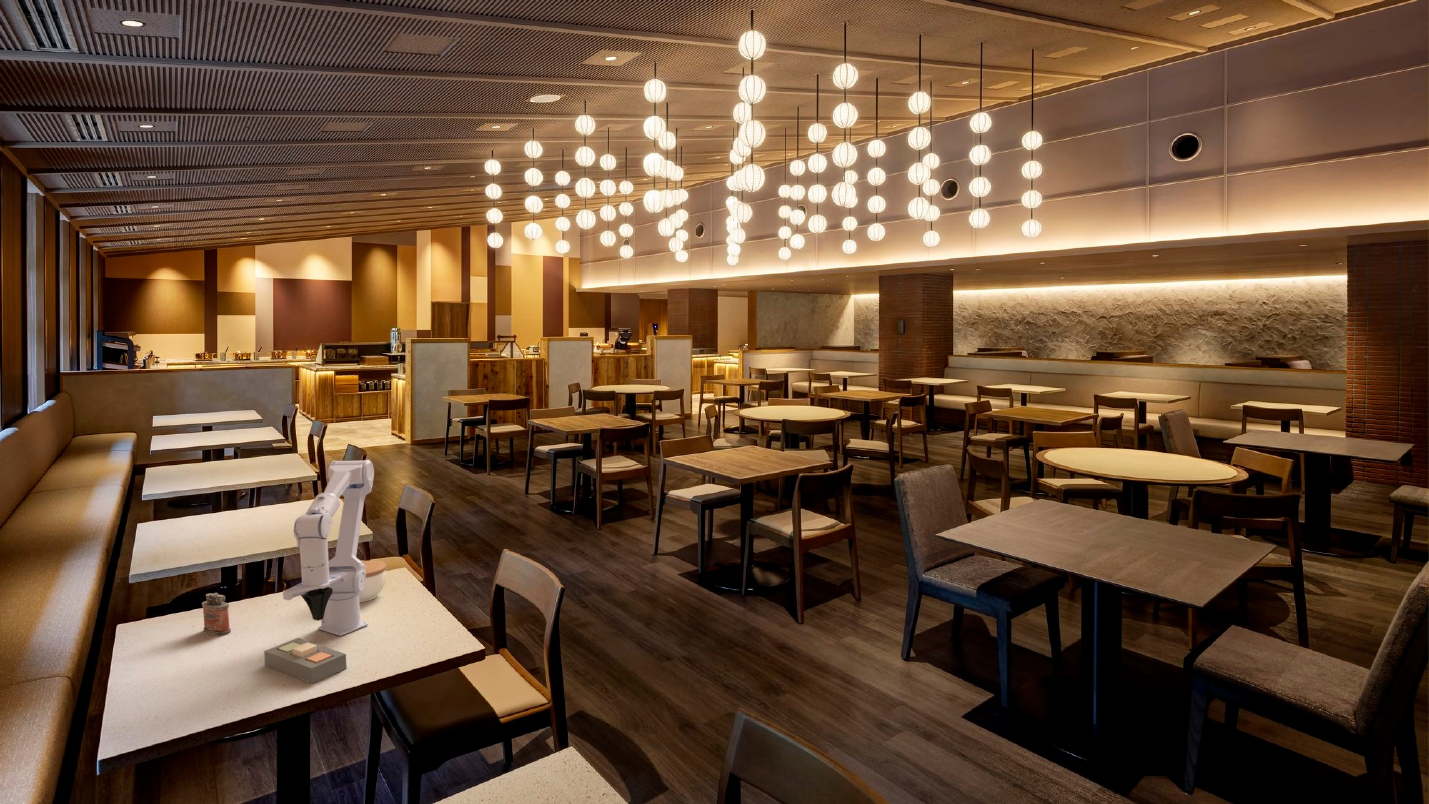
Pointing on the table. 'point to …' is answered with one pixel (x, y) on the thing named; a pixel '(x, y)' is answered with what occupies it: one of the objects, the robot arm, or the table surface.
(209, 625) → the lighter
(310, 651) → the cream key
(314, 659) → the terracotta key
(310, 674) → the keypad
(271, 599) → the table surface
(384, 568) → the lidded bowl
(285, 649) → the sage key
